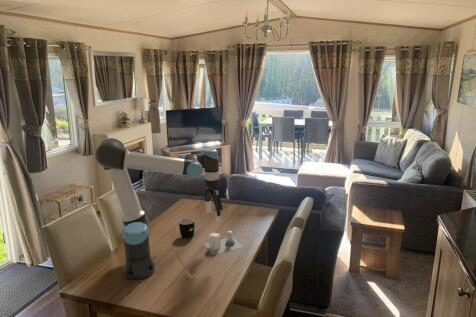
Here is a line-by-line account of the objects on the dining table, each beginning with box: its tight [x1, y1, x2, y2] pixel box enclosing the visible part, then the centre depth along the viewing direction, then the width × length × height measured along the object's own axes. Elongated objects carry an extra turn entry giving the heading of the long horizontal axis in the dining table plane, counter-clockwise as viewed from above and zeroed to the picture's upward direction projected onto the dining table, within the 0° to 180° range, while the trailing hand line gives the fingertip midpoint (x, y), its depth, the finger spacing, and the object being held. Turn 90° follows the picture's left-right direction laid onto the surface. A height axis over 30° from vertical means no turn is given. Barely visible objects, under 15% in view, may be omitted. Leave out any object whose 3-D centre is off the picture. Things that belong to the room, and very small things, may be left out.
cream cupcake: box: [208, 232, 221, 250], centre depth 195 cm, size 6×6×7 cm
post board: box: [203, 230, 244, 255], centre depth 197 cm, size 18×14×8 cm
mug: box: [178, 217, 196, 239], centre depth 211 cm, size 12×9×10 cm
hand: (213, 216), depth 192 cm, fingers open, 13 cm apart
